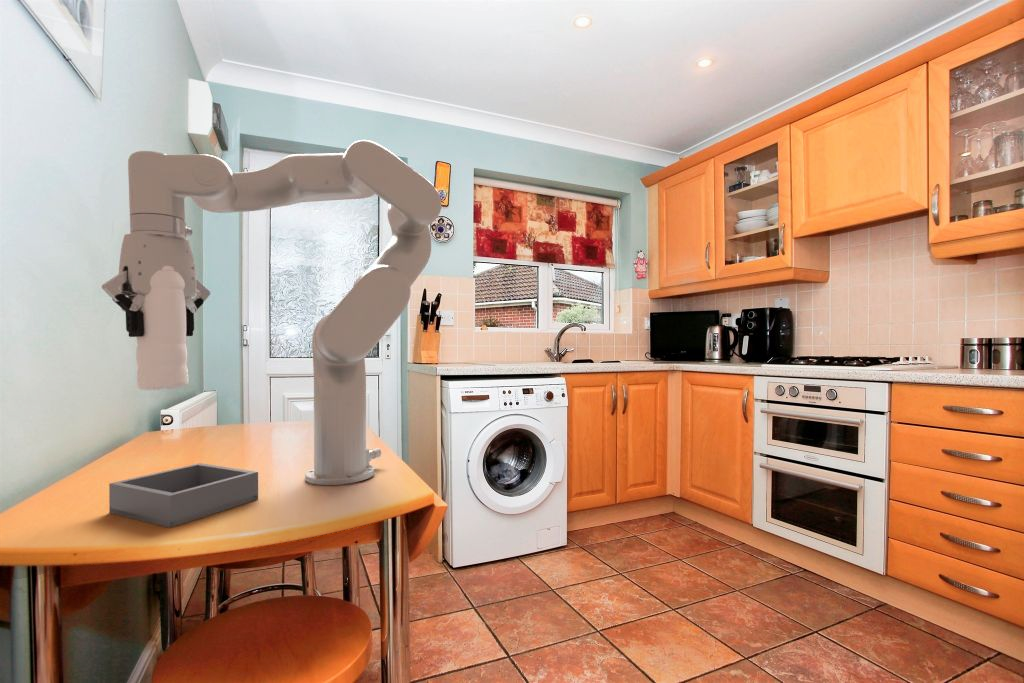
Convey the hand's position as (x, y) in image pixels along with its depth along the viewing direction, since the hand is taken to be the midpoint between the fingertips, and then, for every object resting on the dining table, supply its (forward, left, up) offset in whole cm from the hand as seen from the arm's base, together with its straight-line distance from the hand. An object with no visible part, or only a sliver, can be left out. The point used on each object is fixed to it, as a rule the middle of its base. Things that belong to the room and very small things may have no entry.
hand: (162, 335), depth 83 cm
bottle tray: (+1, +8, -27) cm, 28 cm away
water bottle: (0, 0, -9) cm, 9 cm away
